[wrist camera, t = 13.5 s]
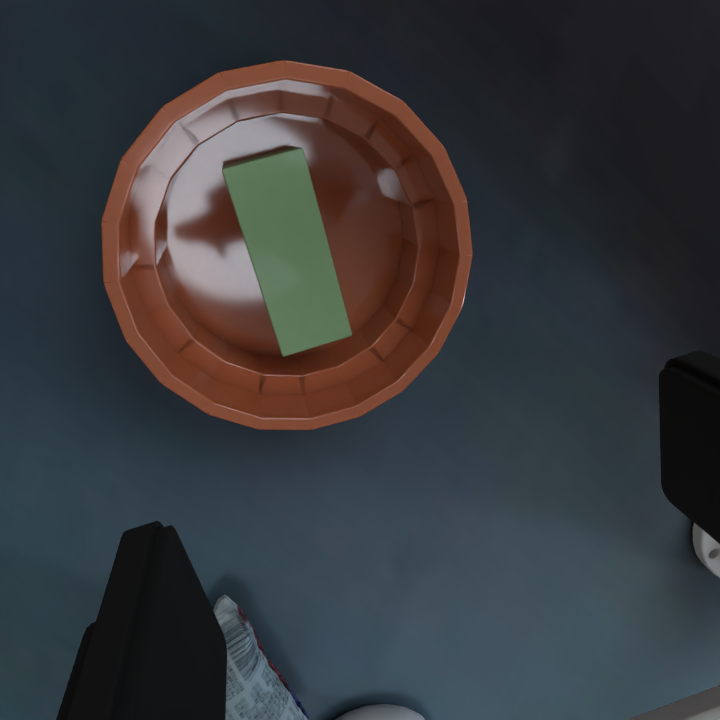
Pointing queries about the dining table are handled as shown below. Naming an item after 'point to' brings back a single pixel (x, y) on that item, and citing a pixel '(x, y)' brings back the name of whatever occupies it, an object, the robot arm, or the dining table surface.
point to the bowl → (232, 261)
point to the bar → (288, 248)
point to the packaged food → (252, 672)
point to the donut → (381, 713)
